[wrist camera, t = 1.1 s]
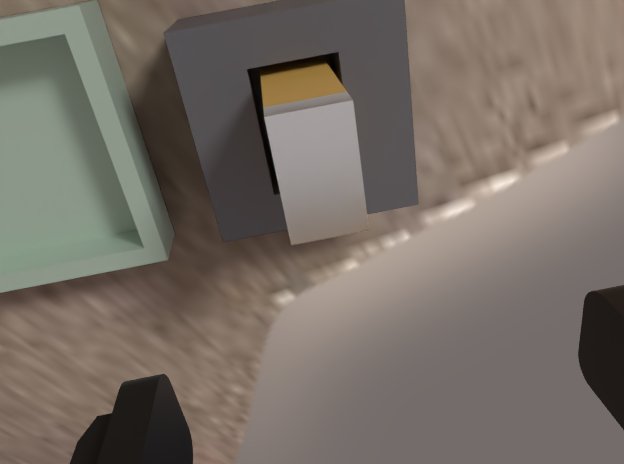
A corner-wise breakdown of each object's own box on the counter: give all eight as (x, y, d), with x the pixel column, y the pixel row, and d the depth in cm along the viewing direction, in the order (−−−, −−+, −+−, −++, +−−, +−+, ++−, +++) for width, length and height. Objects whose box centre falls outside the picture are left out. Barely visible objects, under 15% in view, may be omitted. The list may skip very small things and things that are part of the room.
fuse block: (226, 200, 30) (222, 242, 26) (178, 19, 26) (163, 33, 21) (394, 168, 31) (418, 204, 26) (377, -18, 26) (403, -12, 21)
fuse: (278, 155, 28) (291, 245, 20) (259, 61, 26) (264, 117, 17) (332, 145, 28) (369, 230, 20) (317, 50, 26) (353, 99, 17)
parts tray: (-42, 276, 31) (-69, 306, 28) (-175, 50, 25) (-226, 61, 22) (174, 234, 31) (168, 260, 28) (97, -1, 25) (79, 5, 22)
